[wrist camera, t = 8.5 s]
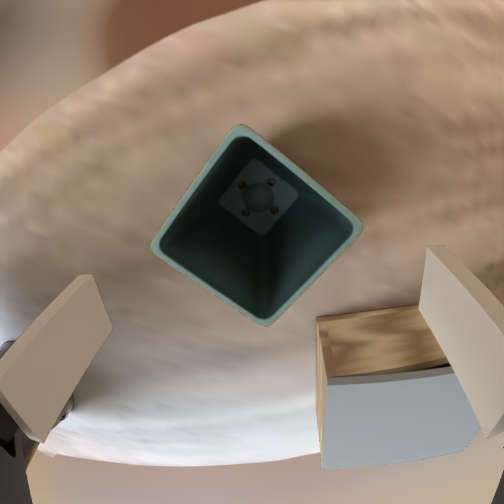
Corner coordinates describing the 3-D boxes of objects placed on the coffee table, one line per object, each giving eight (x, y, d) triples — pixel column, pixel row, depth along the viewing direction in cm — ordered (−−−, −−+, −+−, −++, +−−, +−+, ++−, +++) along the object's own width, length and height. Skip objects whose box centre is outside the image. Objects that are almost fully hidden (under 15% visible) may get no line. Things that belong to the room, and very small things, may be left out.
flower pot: (337, 189, 25) (369, 227, 16) (268, 266, 28) (266, 331, 19) (250, 118, 23) (238, 119, 14) (184, 205, 26) (146, 249, 18)
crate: (315, 406, 35) (321, 460, 28) (316, 317, 29) (326, 377, 22) (434, 386, 33) (454, 432, 26) (460, 296, 28) (497, 343, 21)
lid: (321, 451, 29) (320, 468, 27) (327, 363, 23) (327, 385, 21) (463, 433, 26) (468, 449, 23) (510, 342, 20) (520, 359, 18)
